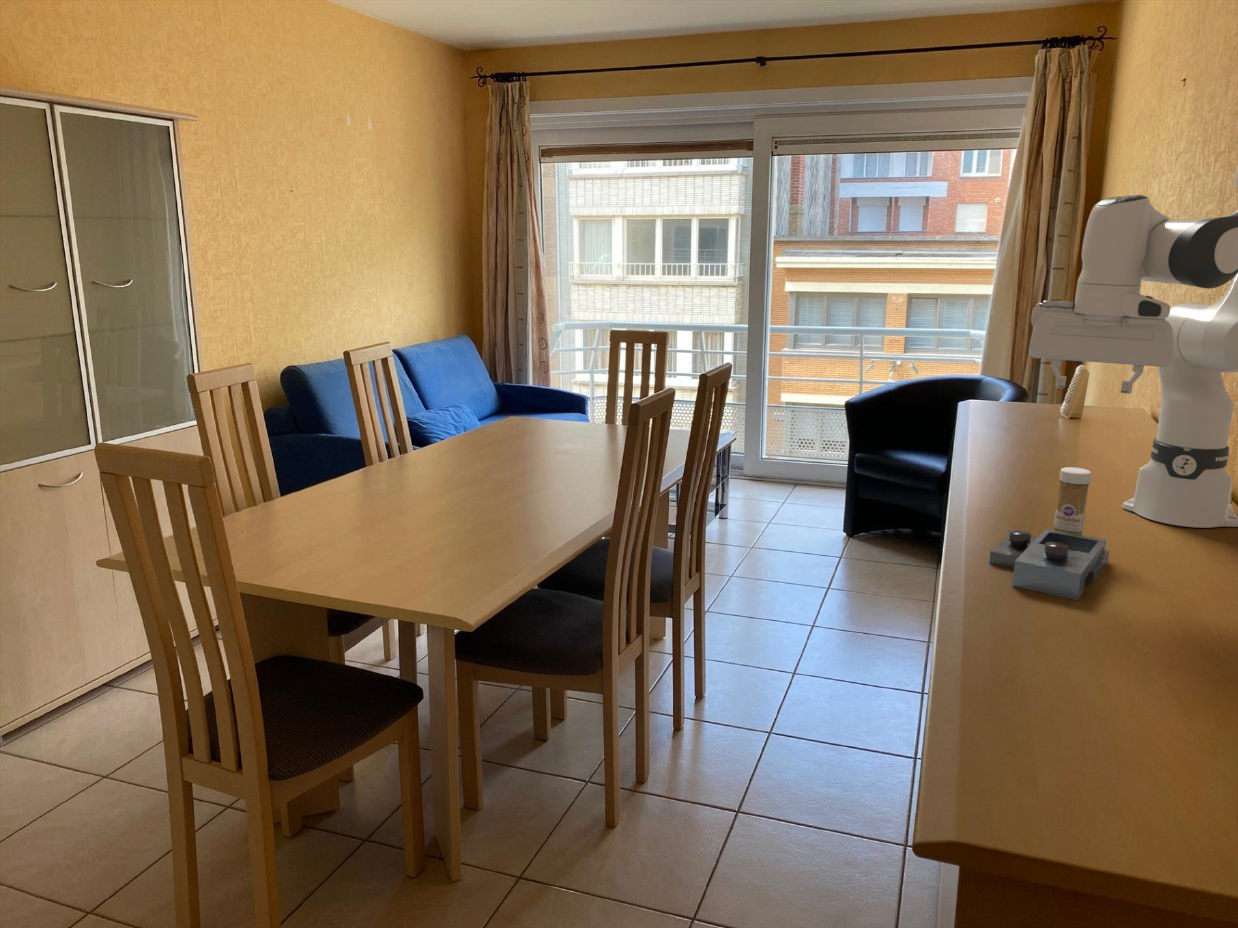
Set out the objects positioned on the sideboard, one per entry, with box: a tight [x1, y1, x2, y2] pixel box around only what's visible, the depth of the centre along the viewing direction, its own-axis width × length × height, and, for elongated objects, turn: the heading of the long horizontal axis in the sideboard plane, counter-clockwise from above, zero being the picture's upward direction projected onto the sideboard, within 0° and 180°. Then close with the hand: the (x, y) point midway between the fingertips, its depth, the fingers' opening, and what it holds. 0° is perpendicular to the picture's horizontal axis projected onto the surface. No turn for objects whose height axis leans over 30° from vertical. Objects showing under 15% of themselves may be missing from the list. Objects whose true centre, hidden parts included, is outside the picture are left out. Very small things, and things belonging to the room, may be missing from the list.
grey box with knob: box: [1011, 528, 1107, 601], centre depth 140 cm, size 19×9×6 cm, turn 143°
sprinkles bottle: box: [1053, 466, 1092, 535], centre depth 151 cm, size 5×5×13 cm
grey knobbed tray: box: [988, 529, 1110, 585], centre depth 145 cm, size 12×15×4 cm
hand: (1092, 390), depth 146 cm, fingers open, 8 cm apart
